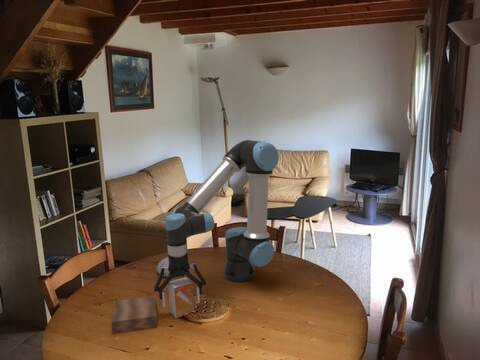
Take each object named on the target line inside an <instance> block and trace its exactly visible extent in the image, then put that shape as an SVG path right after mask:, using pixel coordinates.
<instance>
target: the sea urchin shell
mask: <svg viewBox="0 0 480 360" xmlns="http://www.w3.org/2000/svg"><path fill="white" fill-rule="evenodd" d="M161 266H164V267H168V266H169V260H168V256H166V257H165V258H163V259H161V261H159V263H158V264H157V266H156V271H157V272H156V273H157V274H159V275H160V272H161ZM169 273H170V272H169V271H168V270H167V271H166V273H164V276H163V278H164V277H165V278H167V276H168V275H169Z"/></svg>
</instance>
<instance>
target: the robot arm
mask: <svg viewBox="0 0 480 360" xmlns="http://www.w3.org/2000/svg"><path fill="white" fill-rule="evenodd" d="M279 158H280V155H279V152H278V150H277V148H276V147H275V146H274V144H273V143H270V142H266V141H261V140H252V139H245V140H242V141H240V142H237V144H235V145H234V146H232V147H231V148H230V149H229V150H228V151H227V152H226V153H225V154H224V155H223V156H222V161H221V162H220V164H218V166H217V167H216V168H215V169H214V170H213V171H212V172H211V174H210V175H209V176H208V177H207V178H206V179H204V181H203V182H202V184H201V185H200V186H199V187H198V188H196V190H195V192H193V194H192V195H191V196H190V197H188V199H187V200H186V201H185V202H184V204H183V205H179V206H176V207H175V208H173V210H172V212H171V213H170V214H169V215H167V216H166V217H165V232H166V241H167V242H166V244H167V245H166V247H167V255H168V256H167V257H168V260H169V266H168V267H164V266H161V272H160V274H159V275H158V277H157V280H156V281H155V284H154V287H153V291H154V292H158V296H159V300H162V307H163V308H166V300H165V299H166V298H165V297H166V296H165V288H166V287H168V283H169V282H171V281H172V279H174V278H179V277H183V278H184V277H186V278H188V279H189V280H190V281H191V282H192V283H193V284H194V283H195V285H196V300H197V304H200V303H201V299H200V297H201V296H200V295H202V294H203V286H206V285H207V281H206V279H205V278H204V277H203V275H202V273H201V271H200V269H199V268H198V266H197V262H196V261H193V263H190V262H189V256H188V254H189V253H188V240H187V239H188V237H189V238H190V237H192V236H193V237H194V236H196V235H197V236H198V235H202V234H206V233H208V232H211V231H213V230H214V228H215V219H214V216H213V215H212V214H211V213H210V212H203V213H201V212H202V211H203V210H204V209H205V207H206V206H207V205H208V204H209V203H210V202H211V201H212V200H213V198H214V197H215V196H216V195H217V194H218V193H219V192H220V191H221V189H222V188H223V187H224V186H225V185H226V183H227V182H228V181H229V180H230V179H231V178H232V177H233V176H234V174H236V173H239V172H240V171H241V170H242V169H243V168H245V174H246V175H247V176H248V191H247V192H248V193H247V194H248V195H247V216H246V217H247V219H246V220H247V221H246V223H247V224H246V226H237V227H232V228H229V229H227V230H226V231H225V234H224V236H225V237H224V238H225V254H226V260H225V265H224V267H223V277H224V278H225V279H226V280H227V281H230V282H236V283H240V282H246V281H250V280H252V279H254V277H255V276H256V269H255V266H256V267H264V266H266V265H268V264H269V263H270V262H271V261H272V259H273V257H274V255H275V246H274V245H273V243H272V242H270V239H271V238H270V236H271V235H270V232H268V231H267V228H268V227H267V226H268V202H269V201H268V200H269V182H270V180H269V178H270V177H271V176H272V175H273V170H274V169H276V168H277V165H278V164H279ZM189 263H190V264H189ZM190 268H191V270H194V272H195V274H196V276H197V277H198V278H196V277H195V275H194V274H192V273H191V272H190ZM167 270H168V271H169V272H170V273H169V275H168V276H167V277H165V279H164V281H163V282H162V280H163V278H164V273H166V271H167Z"/></svg>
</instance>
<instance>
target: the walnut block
mask: <svg viewBox="0 0 480 360" xmlns="http://www.w3.org/2000/svg"><path fill="white" fill-rule="evenodd" d="M157 307H158V305H157V295H153V296H152V295H151V296H144V297H136V298H135V297H134V298H129V299H128V298H126V299H120V300H115V302H114V307H113V313H112V318H111V328H112V329H111V330H112V334H118V333H123V332H124V333H125V332H131V331H138V330H145V329H153V328H158V318H157V317H158V312H157V311H158V308H157Z"/></svg>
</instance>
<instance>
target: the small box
mask: <svg viewBox="0 0 480 360" xmlns="http://www.w3.org/2000/svg"><path fill="white" fill-rule="evenodd" d="M193 286H194V282H193V281H192V280H191V279H190V278H189V277H187V276H184V277H183V278H179V279H178V278H177V279H174V280H170V282H169V283H168V284H167V288H168V289H167V290H168V291H167V292H168V303H169V313H170V314H171V315H172V316H173V317H174V318H175V319H178V318H182V317H184V316H183V314H186V313H188V312H192V311H194V312H195V303H194V301H195V300H194V287H193Z"/></svg>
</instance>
